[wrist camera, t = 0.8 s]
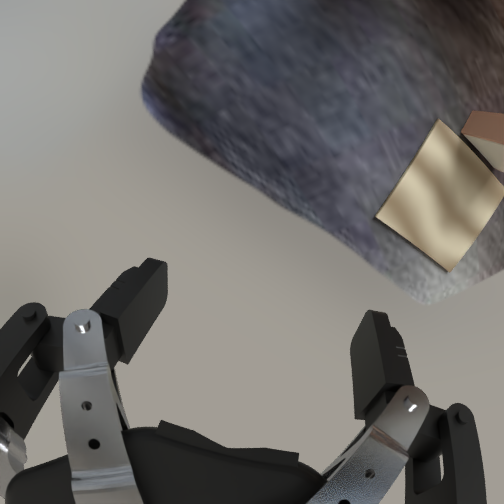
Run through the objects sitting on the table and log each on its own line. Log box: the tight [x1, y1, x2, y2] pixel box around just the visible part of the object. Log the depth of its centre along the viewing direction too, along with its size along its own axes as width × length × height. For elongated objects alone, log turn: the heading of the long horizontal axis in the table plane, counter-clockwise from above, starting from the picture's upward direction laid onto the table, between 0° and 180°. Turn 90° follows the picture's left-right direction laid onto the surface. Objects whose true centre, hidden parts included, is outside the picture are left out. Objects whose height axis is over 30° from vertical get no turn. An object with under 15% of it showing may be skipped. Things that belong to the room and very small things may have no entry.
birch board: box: [375, 119, 504, 272], centre depth 32 cm, size 16×16×1 cm
